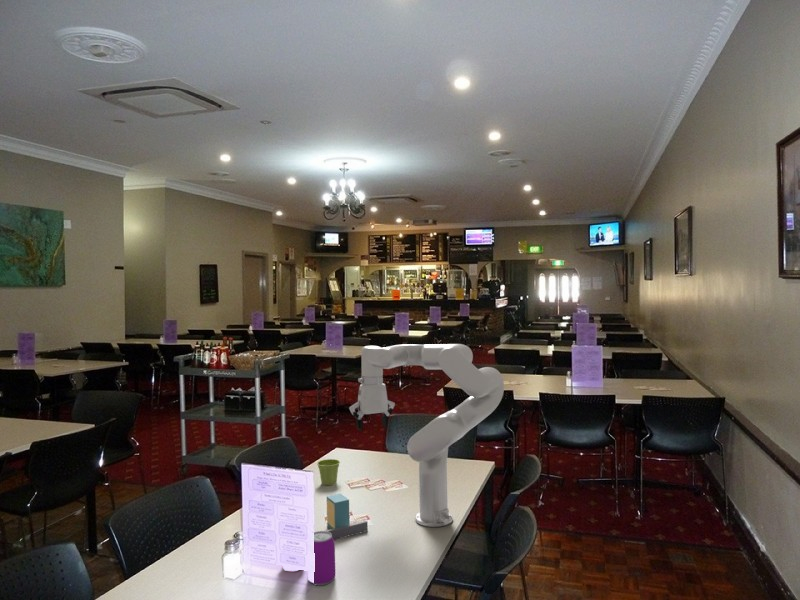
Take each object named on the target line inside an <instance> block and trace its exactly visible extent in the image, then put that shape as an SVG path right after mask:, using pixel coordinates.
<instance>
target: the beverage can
mask: <svg viewBox="0 0 800 600" xmlns="http://www.w3.org/2000/svg"><path fill="white" fill-rule="evenodd" d="M313 533H314V553H315V572H314V584H316V585H315V586H324V585H323V584H325V585H328V584H330V583H332V582H333V580H335V577H336V544H335V543H336V542H335V539H334V540H333V537H332V534H331V533H330V532H327V531H326V530H320V531H314V532H313ZM329 582H330V583H329ZM327 583H328V584H327ZM314 584H313V585H314Z"/></svg>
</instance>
